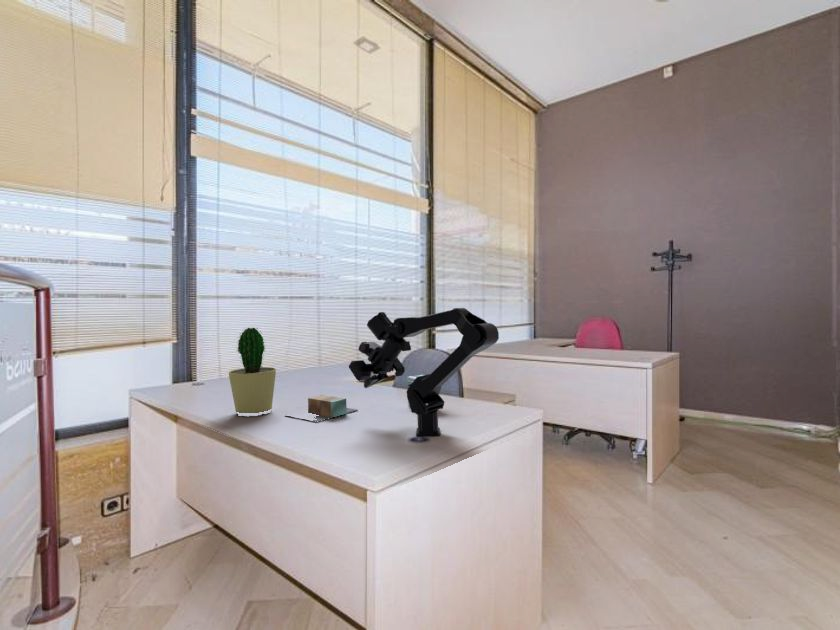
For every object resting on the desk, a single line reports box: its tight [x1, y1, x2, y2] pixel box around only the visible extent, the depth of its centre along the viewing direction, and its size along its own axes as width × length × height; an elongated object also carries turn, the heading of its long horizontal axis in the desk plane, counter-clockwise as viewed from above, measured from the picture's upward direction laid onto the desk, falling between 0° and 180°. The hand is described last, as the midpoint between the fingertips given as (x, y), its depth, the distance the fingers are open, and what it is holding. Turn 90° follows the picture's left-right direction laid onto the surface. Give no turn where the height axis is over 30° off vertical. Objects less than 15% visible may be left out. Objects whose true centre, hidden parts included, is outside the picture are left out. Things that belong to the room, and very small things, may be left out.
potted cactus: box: [227, 326, 277, 413], centre depth 153 cm, size 15×15×30 cm
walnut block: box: [307, 394, 348, 419], centre depth 148 cm, size 5×6×12 cm
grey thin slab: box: [313, 407, 359, 422], centre depth 150 cm, size 16×18×1 cm
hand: (365, 387), depth 139 cm, fingers closed
